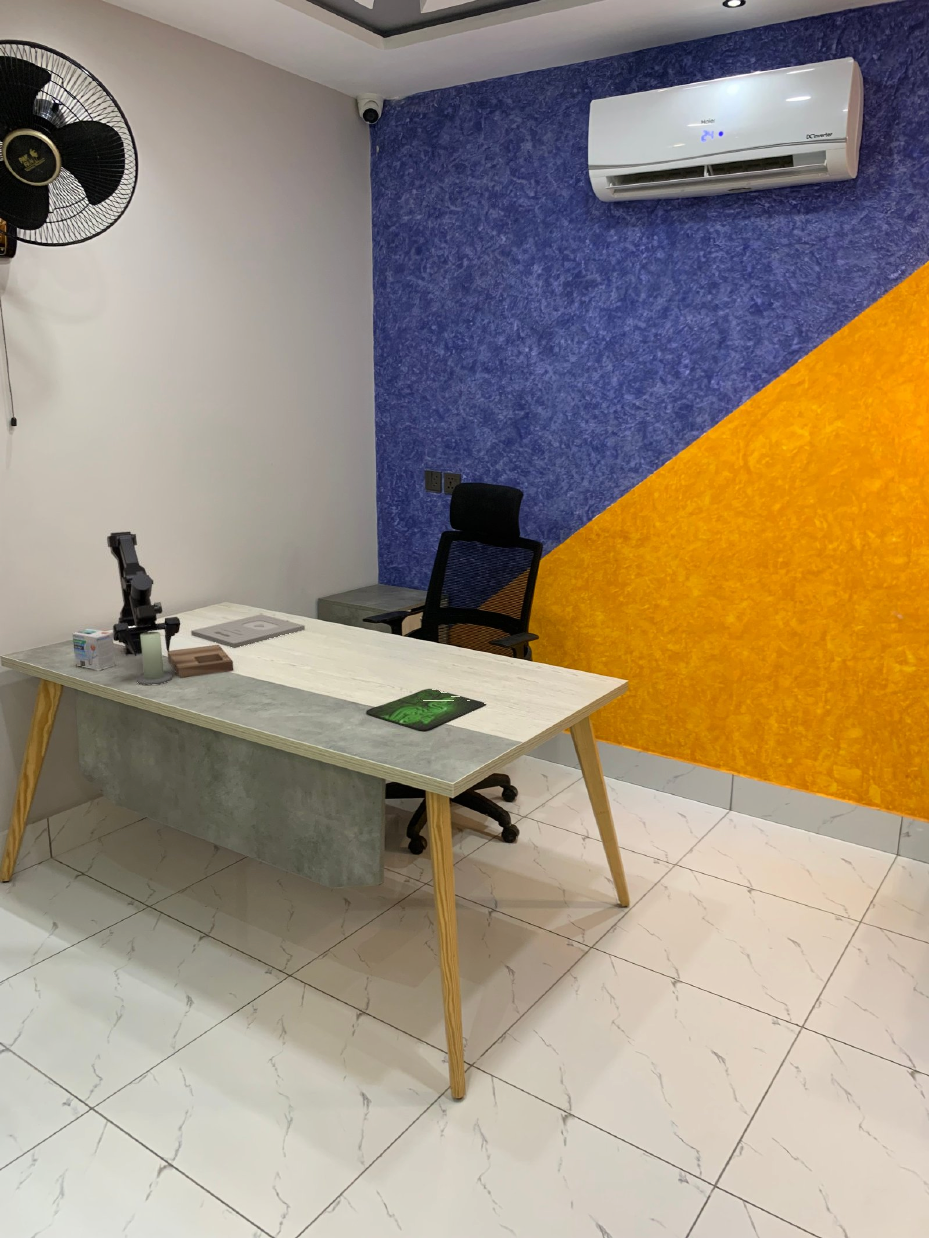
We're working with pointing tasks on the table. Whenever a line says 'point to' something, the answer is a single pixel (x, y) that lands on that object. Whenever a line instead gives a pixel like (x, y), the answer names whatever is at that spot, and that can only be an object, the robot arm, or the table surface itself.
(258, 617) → the award plaque
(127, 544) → the robot arm
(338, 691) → the table surface
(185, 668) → the puzzle board
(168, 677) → the coaster
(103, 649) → the light bulb box
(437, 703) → the mouse mat
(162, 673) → the peg
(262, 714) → the table surface
